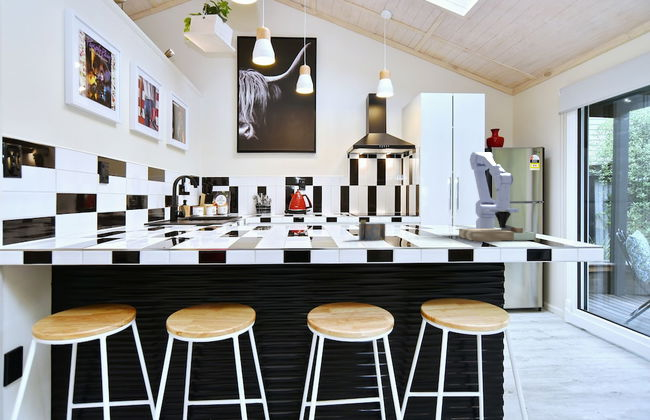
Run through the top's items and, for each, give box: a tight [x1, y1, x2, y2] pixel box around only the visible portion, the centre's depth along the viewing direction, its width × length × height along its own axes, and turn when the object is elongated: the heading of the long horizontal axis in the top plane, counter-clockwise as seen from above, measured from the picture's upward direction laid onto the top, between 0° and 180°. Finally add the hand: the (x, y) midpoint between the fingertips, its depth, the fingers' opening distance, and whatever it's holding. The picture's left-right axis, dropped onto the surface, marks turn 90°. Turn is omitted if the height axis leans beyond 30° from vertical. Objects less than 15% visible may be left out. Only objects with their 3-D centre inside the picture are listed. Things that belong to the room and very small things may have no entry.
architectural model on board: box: [358, 219, 386, 241], centre depth 153 cm, size 11×3×10 cm, turn 99°
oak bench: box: [458, 228, 514, 242], centre depth 159 cm, size 15×18×4 cm
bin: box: [514, 230, 537, 242], centre depth 159 cm, size 15×10×4 cm, turn 2°
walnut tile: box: [511, 226, 524, 233], centre depth 155 cm, size 5×5×2 cm
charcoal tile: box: [500, 224, 512, 231], centre depth 162 cm, size 5×5×2 cm
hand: (502, 227), depth 162 cm, fingers closed
